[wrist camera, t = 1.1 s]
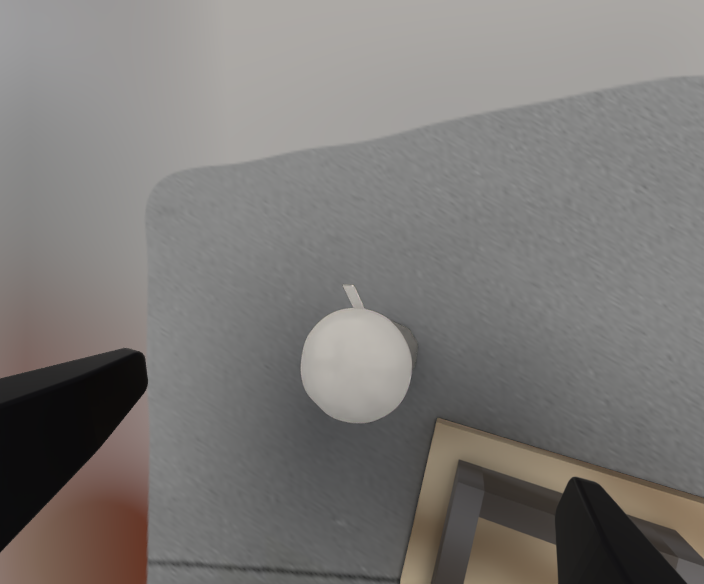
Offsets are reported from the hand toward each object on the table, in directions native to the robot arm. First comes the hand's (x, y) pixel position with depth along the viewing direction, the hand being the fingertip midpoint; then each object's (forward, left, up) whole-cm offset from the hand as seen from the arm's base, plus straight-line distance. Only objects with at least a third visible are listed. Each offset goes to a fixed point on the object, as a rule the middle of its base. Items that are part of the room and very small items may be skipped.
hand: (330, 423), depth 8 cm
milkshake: (0, +2, -16) cm, 16 cm away
